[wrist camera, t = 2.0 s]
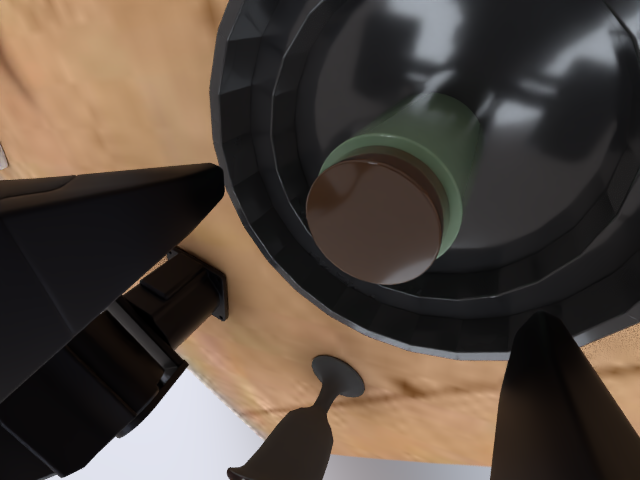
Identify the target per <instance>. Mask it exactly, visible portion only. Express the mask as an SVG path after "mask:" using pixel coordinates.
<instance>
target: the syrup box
mask: <svg viewBox="0 0 640 480" xmlns="http://www.w3.org/2000/svg"><path fill="white" fill-rule="evenodd" d="M7 167H8V164H7V160H6V157H5V155H4V152H3V150H2V147H1V145H0V170H1V169H4V168H7Z"/></svg>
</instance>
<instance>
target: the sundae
mask: <svg viewBox="0 0 640 480" xmlns="http://www.w3.org/2000/svg"><path fill="white" fill-rule="evenodd" d="M312 368H313V371H314V373H315V375H316V376H317V378H318V379H319V380H320V381H321V382H322V384H323V385H322V389H321V392H320V394H319V396H318V398H317V400H316V401H315V403H314V405H313V406H311V407H308V408H299V409H296V410H293V411H290V412H289V413H288V414H287V415H286V416H285V417H284V418H283V419H282V420H281V421H280V423H279V424H278V425H277V426H276V427H275V429H274V430H273V431H272V433H271V434H270V435H269V436H268V438H267V439H266V440H265V442H264V443H263V444H262V445H261V447H260V448H259V449H258V450H257V452H256V453H255V454H254V455H253V456H252V457H251V458H250V459H249V460H248V462H247V463H246V464H245V465H243V466H241V467H238V468H231V467H230V468H228V470H227V476H228V477H229V479H230V480H322V479H323V476H324V473H325V470H326V467H327V464H328V461H329V457H330V453H331V449H332V445H333V436H332V431H331V428H330V425H329V423H328V420H327V412H328V410H329V408H330V406H331V404H332V403H333V401H334V400H335V398H336V397H337V396H338V395H339V394H340V395H343V396H346V397H358V396H361V395H362V394H363V392H364V390H365V389H364V384H363V381H362V379H361V378H360V376H359V375H358V373H357V372H356V371H355V370H354V369H353V368H351V367H350V366H349V365H348V364H346V363H344V362H343V361H341V360H339V359H337V358H334V357H330V356H318V357H316V358H314V359H313V362H312Z"/></svg>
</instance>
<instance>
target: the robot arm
mask: <svg viewBox="0 0 640 480" xmlns="http://www.w3.org/2000/svg"><path fill="white" fill-rule="evenodd" d="M224 192H225V187H224V171H223V169H222V168H221V167H219V166H217V165H215V164H212V163H202V164H191V165H180V166H169V167H158V168H147V169H137V170H126V171H115V172H104V173H93V174H82V175H77V176H76V175H71V176H60V177H48V178H35V179H18V180H0V480H45V479H47V478H50V477H52V476H54V475H58V476H59V477H61V478H63V477H66V476H68V475H70V474H72V473H74V472H76V471H78V470H80V469H82V468H83V467H85V466H86V465H87V464H88V463H89V462H90V461H91V460H92V459H93V458H94V456H95V455H96V454H97V453H98V452H99V451H101V450H102V449H103V448H104V447H105V446H106V445H107V444H108V443H109V442H110V441H111V440H112V439H113V438H114V437H115V436H116V437H117V438H121V437H123V436H125V435H126V434H128V433H129V432H130V431H132V430H133V429H134V428H135V427H136V426H138V425H139V424H140V423H141V422H142V421H143V420H144V419H145V418H146V417H147V416H148V415H149V414H150V413H151V411H152V410H153V409H154V408H155V407H156V406H157V404H158V403H159V402H160V401H161V399H162V398H163V396H164V395H165V394H166V393H167V392H168V390H169V389H170V388H171V387H172V385H173V384H174V383H175V382H176V380H177V379H178V378H179V377H180V375H181V374H182V373H183V372H184V370H185V369H186V368H187V367H188V365H189V364H188V363H187V362H186V361H185V360H183V359H182V358H181V357H180V356H179V355H178V354H177V353H176V352H175V351H174V350H175V349H176V348H177V347H178V346H179V345H181V344H182V343H183V342H184V341H185V340H186V339H187V338H188V337H189V336H190V335H191V334H192V333H193V332H194V331H195V330H196V329H197V328H198V327H199V326H200V325H201V324H202V323H203V322H204V321H205V320H206V319H207V318H208V317H209V316H210V315H211V314H212V315H213V316H215V317H217V318H218V319H220V320H221V321H225V320H226V319H227V318H228V307H227V291H226V278H225V276H224V275H223V274H222V273H221V272H219V271H217V270H216V269H214V268H212V267H210V266H208V265H207V264H205V263H203V262H201V261H199V260H198V259H196V258H194V257H192V256H191V255H189V254H187V253H185V252H183V251H182V250H180V249H178V248H176V247H175V246H176V245H178V244H179V243H180V242H181V241H182V240H183V239H184V238H185V237H187V236H188V235H189V234H190V233H191V232H192V231H193V230H194V229H195V228H196V227H197V226H198V224H199V223H200V222H201V221H202V220H203V219H204V218H205V217H206V216H207V215H208V213H209V212H210V211H211V210H212V209H213V208H214V207H215V206H216V205H217V203H218V202H219V201H220V200H221V199H222V198H223V196H224ZM166 254H167V258H168V261H167V262H165V263H164V264H162V265H161V266H160V267H158V268H157V269H155V270H154V271H153V272H151V273H150V274H148V275H147V276H146V277H144V278H143V279H141V280H140V283H139V284H138V285H137V286H135V287H134V288H132V289H131V290H130V291H128V292H127V293H125V294H124V295H122V294H123V293H124V292H125V291H126V290H127V289H128V288H130V287H131V286H132V285H133V284H134V283H135V282H136V281H137V280H138V279H140V278H141V277H142V276H143V275H144V274H145V273H146V272H147V271H149V270H150V269H151V268H152V267H153V266H154V265H155V264H156V263H157V262H159V261H160V260H161V259H162V258H163V257H164V256H165V255H166ZM100 313H101V314H100ZM490 480H640V437H639V436H638V434H637V433H636V431H635V430H634V428H633V427H632V425H631V424H630V422H629V421H628V419H627V418H626V416H625V415H624V413H623V412H622V410H621V409H620V407H619V406H618V404H617V403H616V401H615V400H614V398H613V397H612V395H611V394H610V392H609V391H608V389H607V388H606V386H605V385H604V383H603V382H602V380H601V379H600V377H599V376H598V374H597V373H596V371H595V370H594V368H593V367H592V365H591V364H590V362H589V361H588V359H587V358H586V356H585V355H584V353H583V352H582V350H581V349H580V347H579V346H578V344H577V343H576V341H575V340H574V338H573V337H572V335H571V334H570V332H569V331H568V329H567V328H566V326H565V325H564V323H563V322H562V321H561V319H560V318H558V317H556V316H554V315H552V314H550V313H547V312H545V311H543V310H539V311H537V312H535V313H534V314H533V315H532V316H531V317H530V318H529V319H528V320H527V321H526V323H525V324H524V325H523V326H522V327H521V328H520V329H519V330H518V331H517V333H516V335H515V337H514V341H513V345H512V349H511V353H510V357H509V360H508V364H507V368H506V372H505V376H504V380H503V384H502V388H501V392H500V398H499V405H498V414H497V423H496V432H495V441H494V450H493V458H492V467H491V476H490Z"/></svg>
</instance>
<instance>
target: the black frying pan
mask: <svg viewBox="0 0 640 480" xmlns="http://www.w3.org/2000/svg"><path fill="white" fill-rule="evenodd" d="M209 89H210V91H209V94H210V108H211V122H212V136H213V141H214V142H213V144H214V148H215V151H216V155H217V159H218V162H219V166H220V167H221V168H222V169H223V171H224V185H225V187H226V190H227V192H228V194H229V196H230V198H231V201H232V203H233V205H234V207H235V209H236V211H237V213H238V216H239V218H240V220H241V222H242V224H243V226H244V228H245V229H246V231H247V232H248V233H249V235H250V236H251V238H252V239H253V241H254V242H255V244H256V245H257V246H258V248H259V249H260V251H261V252H262V254H263V255H264V257H265V258H266V260H268V262H269V263H270V264H271V265H272V266H273V267H274V268H275V269H276V270H277V271H278V272H279V273H280V274H281V276H282V277H283V278H284V279H285V280H286V281H287V282H288V283H289V284H290V285H291V286H292V287H293V288H294V289H295V290H296V291H297V292H298V293H300V294H301V295H302V296H304V297H305V298H306V299H308V300H309V301H310V302H312V303H313V304H314V305H316V306H317V307H318V308H319V309H321V310H322V311H323V312H325V313H326V314H327V315H329V316H330V317H332V318H334V319H336V320H338V321H340V322H341V323H343V324H345V325H347V326H349V327H351V328H353V329H354V330H356V331H358V332H360V333H362V334H364V335H365V336H368V337H370V338H373V339H376V340H379V341H382V342H384V343H387V344H390V345H393V346H396V347H399V348H401V349H404V350H407V351H411V352H415V353H421V354H427V355H432V356H438V357H443V358H449V359H454V360H485V361H508V360H509V357H510V353H511V349H512V345H513V341H514V337H515V335H516V333H517V331H518V330H519V329H520V328H521V327H522V326H523V325H524V324H525V323H526V321H527V320H528V319H529V318H530V317H531V316H532V315H533V314H534V313H535V312H537V311H539V310H543V311H545V312H547V313H550V314H552V315H554V316H556V317H558V318H560V319H561V321H562V322H563V323H564V325H565V326H566V328H567V329H568V331H569V332H570V334H571V335H572V337H573V338H574V340H575V341H576V343H577V344H578V346H579V347H582V346H584V345H587V344H589V343H592V342H594V341H596V340H599V339H601V338H604V337H606V336H609V335H611V334H613V333H616V332H618V331H621V330H623V329H625V328H628V327H630V326H633V325H635V324H638V323H639V322H640V0H229V2H228V4H227V7H226V10H225V12H224V15H223V17H222V20H221V23H220V25H219V28H218V32H217V37H216V44H215V51H214V58H213V66H212V73H211V80H210V87H209ZM428 92H431V93H440V94H445V95H448V96H450V97H453V98H455V99H457V100H459V101H460V102H462V103H463V104H464V105H466V106H467V107H468V108H469V109H470V110H471V111H472V112H473V113H474V115H475V116H476V118H477V119H478V121H479V123H480V125H481V127H482V130H483V134H484V140H485V152H484V158H483V161H482V165H481V168H480V171H479V174H478V177H477V180H476V183H475V186H474V189H473V192H472V195H471V198H470V201H469V204H468V207H467V210H466V213H465V216H464V219H463V222H462V225H461V228H460V231H459V233H458V235H457V237H456V239H455V241H454V242H453V244H452V245H451V247H450V248H449V249H448V250H447V251H446V252H445V253H444V254H443V255H441V256H440V257H439V258H437V259H436V260H435V261H434V263H433V264H432V265H431V266H430V268H429V269H428V270H427V271H425V272H424V273H423V274H422V275H420V276H418V277H417V278H415V279H413V280H410V281H408V282H404V283H400V284H393V285H382V284H374V283H370V282H366V281H363V280H360V279H357V278H355V277H353V276H351V275H349V274H347V273H345V272H344V271H342V270H341V269H339V268H338V267H337V266H336V265H334V264H333V263H332V262H331V261H330V260H329V259H328V258H327V257H326V256H325V255H324V254H323V253H322V251H321V250H320V249H319V247H318V246H317V244H316V242H315V241H314V239H313V237H312V235H311V232H310V230H309V226H308V223H307V218H306V201H307V197H308V193H309V190H310V188H311V186H312V184H313V182H314V181H315V179H316V178H317V177H318V175H319V172H320V169H321V167H322V165H323V163H324V161H325V160H326V158H327V157H328V156H329V154H330V153H331V152H332V151H333V150H334V149H335V148H336V147H337V146H339V145H340V144H341V143H343V142H344V141H345V140H347V139H348V138H349V137H351V136H352V135H353V134H355V133H356V132H357V131H359V130H360V129H361V128H363V127H364V126H366V125H367V124H368V123H370V122H371V121H372V120H374V119H375V118H376V117H378V116H379V115H380V114H382V113H383V112H384V111H386V110H387V109H388V108H390V107H391V106H392V105H394V104H395V103H397V102H398V101H400V100H402V99H404V98H406V97H408V96H411V95H414V94H419V93H428Z"/></svg>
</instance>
